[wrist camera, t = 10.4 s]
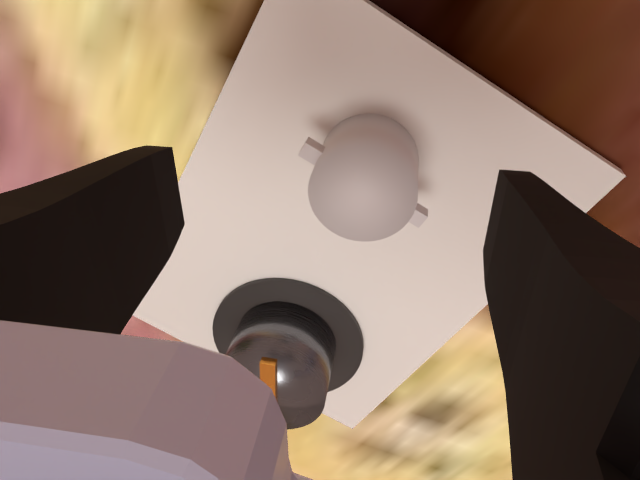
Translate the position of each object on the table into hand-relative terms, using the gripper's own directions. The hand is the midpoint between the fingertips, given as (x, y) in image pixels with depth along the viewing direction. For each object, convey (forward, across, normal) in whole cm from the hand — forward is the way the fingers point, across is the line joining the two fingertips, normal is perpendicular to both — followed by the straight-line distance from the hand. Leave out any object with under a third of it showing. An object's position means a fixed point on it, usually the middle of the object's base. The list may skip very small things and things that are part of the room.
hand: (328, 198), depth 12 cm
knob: (+9, +4, +14) cm, 17 cm away
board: (+10, +1, +8) cm, 13 cm away
